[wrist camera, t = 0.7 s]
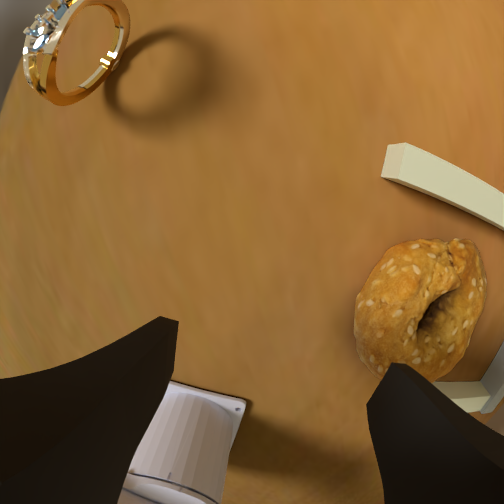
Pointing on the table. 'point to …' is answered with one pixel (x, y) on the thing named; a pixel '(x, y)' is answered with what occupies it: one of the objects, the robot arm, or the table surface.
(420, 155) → the guide
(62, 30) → the ring
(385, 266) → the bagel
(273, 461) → the table surface
